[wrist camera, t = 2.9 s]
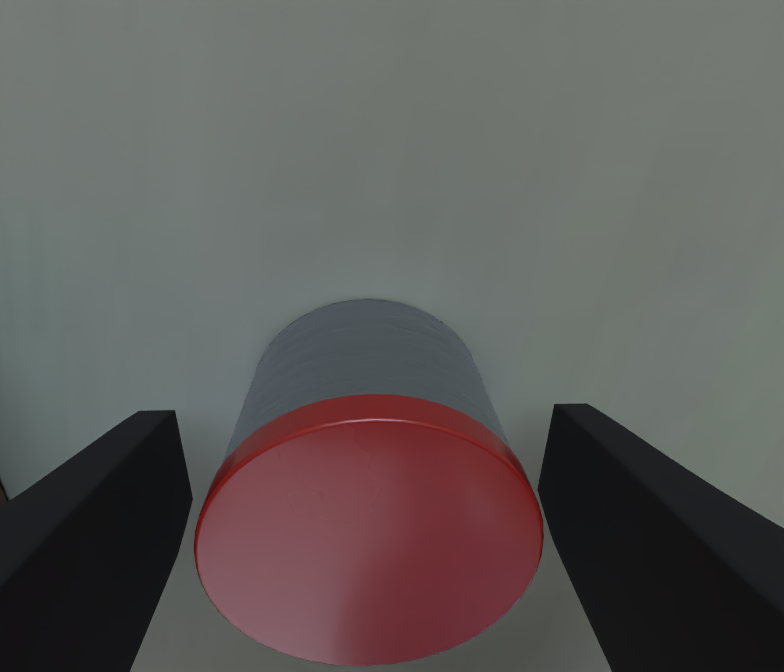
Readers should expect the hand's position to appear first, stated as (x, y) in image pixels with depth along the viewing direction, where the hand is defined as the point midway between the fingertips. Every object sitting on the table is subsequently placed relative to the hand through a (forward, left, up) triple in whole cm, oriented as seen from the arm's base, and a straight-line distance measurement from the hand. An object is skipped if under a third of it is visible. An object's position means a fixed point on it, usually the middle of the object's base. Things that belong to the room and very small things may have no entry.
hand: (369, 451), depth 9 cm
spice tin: (0, 0, -2) cm, 2 cm away
